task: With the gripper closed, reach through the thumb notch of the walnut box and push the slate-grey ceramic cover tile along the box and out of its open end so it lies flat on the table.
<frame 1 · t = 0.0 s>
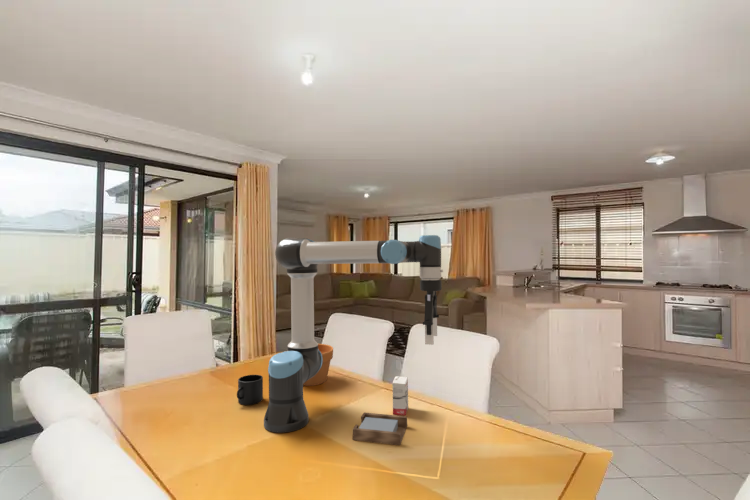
hand: (431, 339, 132), 28 cm above the table, fingers open, 13 cm apart
mug: (248, 402, 151), on the table
ink box: (400, 412, 139), on the table
box: (380, 434, 122), on the table
tile: (378, 432, 122), point 1 cm above the table, touching box
flower pot: (310, 381, 175), on the table
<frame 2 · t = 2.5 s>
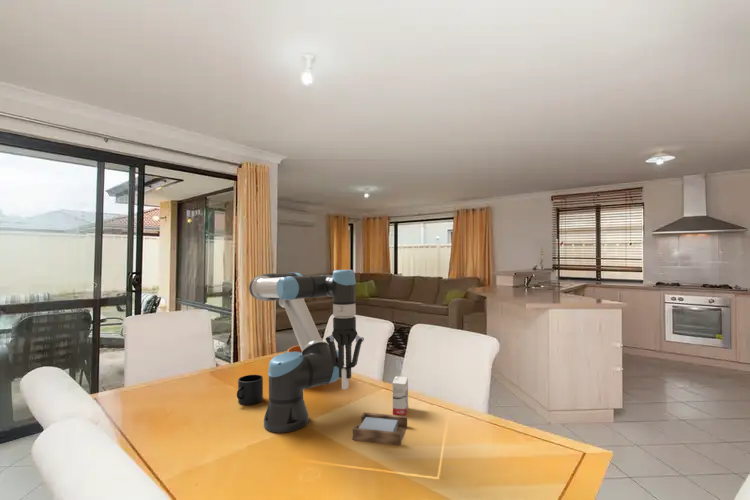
hand: (345, 387, 125), 14 cm above the table, fingers closed
nothing on the table moved.
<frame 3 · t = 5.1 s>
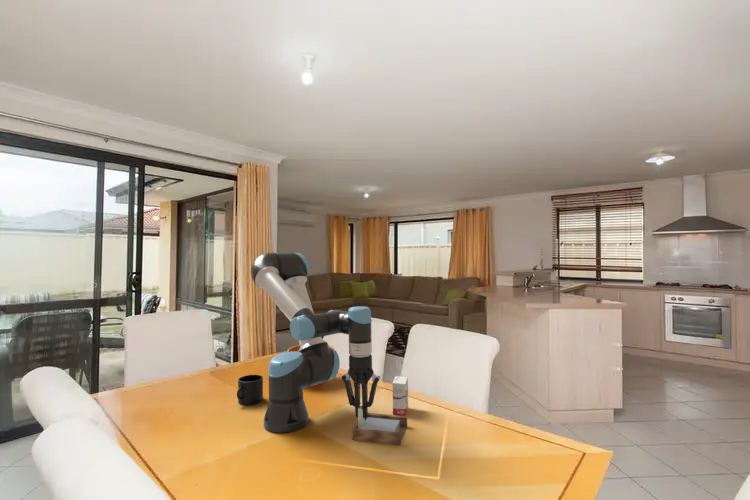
hand: (361, 427, 123), 2 cm above the table, fingers closed
tile: (380, 432, 122), point 1 cm above the table, touching gripper
everything else where it was.
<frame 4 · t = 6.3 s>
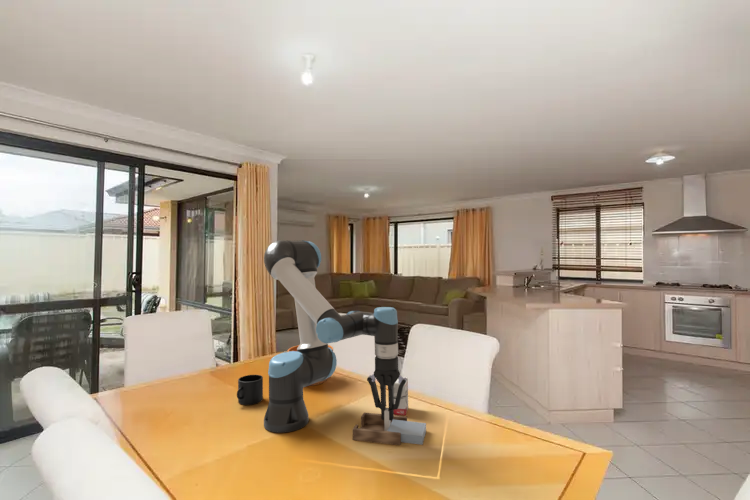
hand: (387, 429, 121), 2 cm above the table, fingers closed
tile: (407, 435, 120), point 1 cm above the table, touching box
everything else where it was.
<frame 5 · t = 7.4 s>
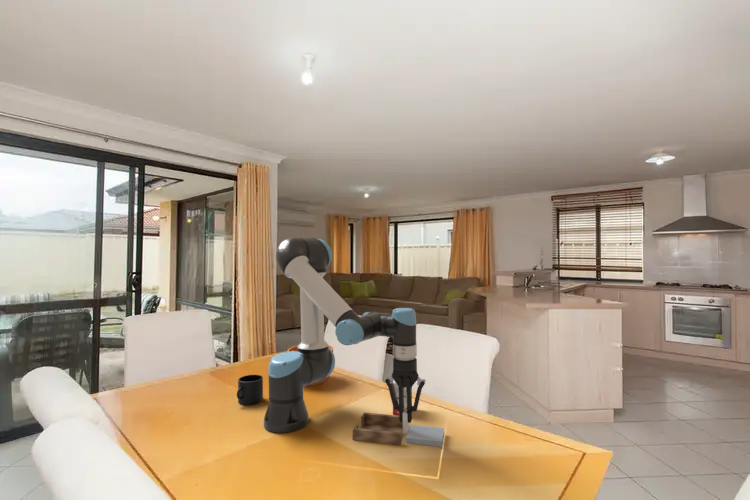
hand: (405, 431, 120), 2 cm above the table, fingers closed
tile: (425, 441, 118), on the table, touching gripper
everything else where it was.
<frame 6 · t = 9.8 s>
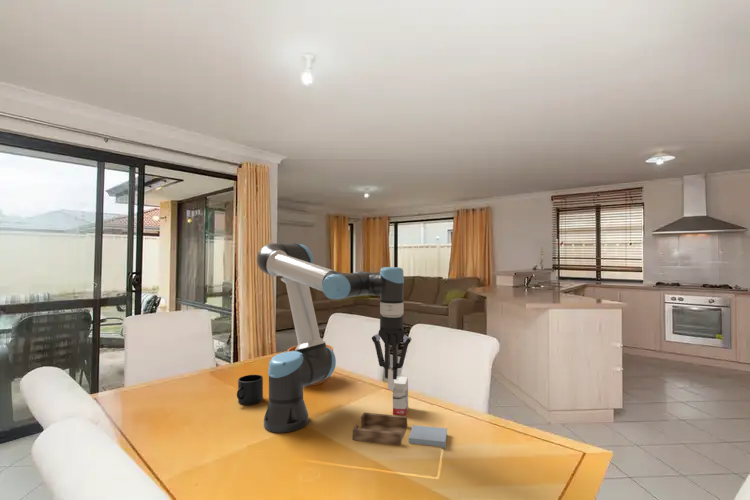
hand: (391, 388, 121), 15 cm above the table, fingers closed
tile: (428, 441, 118), on the table
everything else where it was.
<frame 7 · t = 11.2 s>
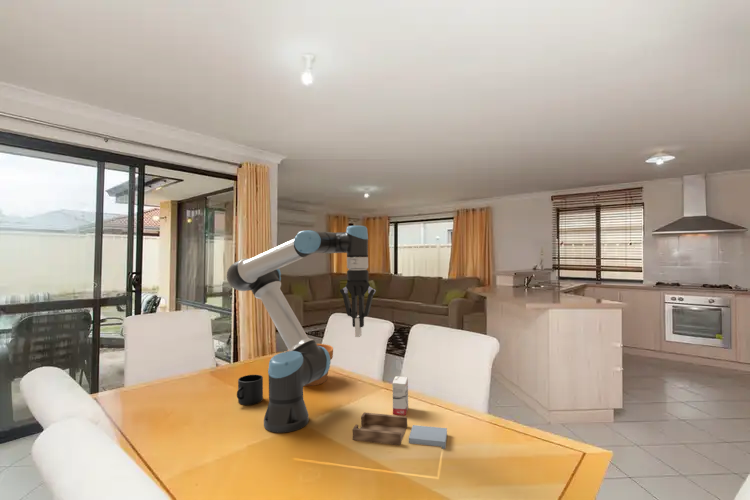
hand: (358, 336, 133), 29 cm above the table, fingers closed
nothing on the table moved.
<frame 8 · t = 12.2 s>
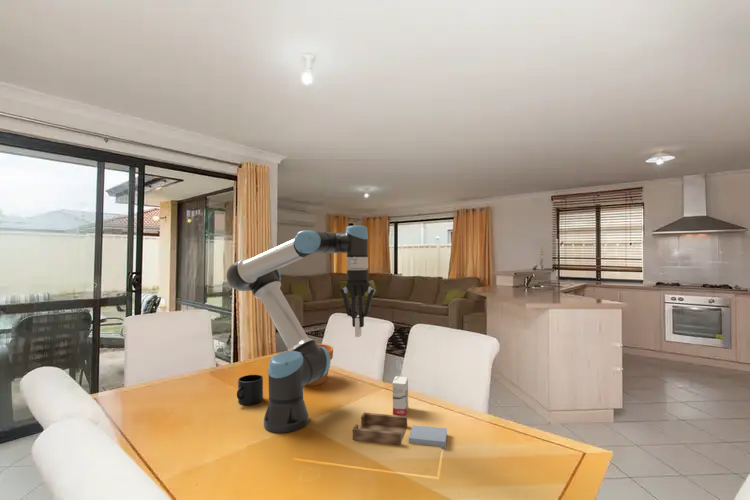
hand: (358, 336, 133), 29 cm above the table, fingers closed
nothing on the table moved.
at the end: tile inside the target area (3.2 cm from its centre), on the table; tile touching table; tile tilted 0° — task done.
